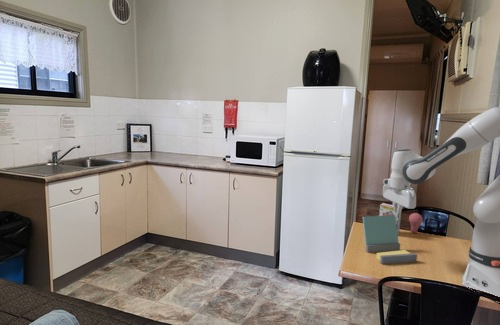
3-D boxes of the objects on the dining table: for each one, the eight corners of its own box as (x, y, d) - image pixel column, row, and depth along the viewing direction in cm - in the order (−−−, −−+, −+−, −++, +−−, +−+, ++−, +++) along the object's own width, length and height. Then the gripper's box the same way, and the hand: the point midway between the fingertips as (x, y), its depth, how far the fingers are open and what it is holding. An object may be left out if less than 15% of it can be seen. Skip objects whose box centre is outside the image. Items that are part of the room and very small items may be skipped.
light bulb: (422, 233, 189) (424, 213, 187) (418, 236, 184) (420, 216, 182) (410, 229, 194) (412, 210, 192) (405, 232, 189) (407, 213, 187)
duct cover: (395, 215, 168) (393, 215, 169) (363, 216, 165) (362, 216, 166) (398, 242, 166) (397, 242, 167) (366, 244, 162) (365, 244, 163)
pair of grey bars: (416, 261, 153) (417, 254, 152) (381, 264, 149) (382, 257, 149) (397, 249, 166) (398, 242, 166) (365, 251, 163) (366, 244, 162)
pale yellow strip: (409, 259, 156) (410, 253, 155) (381, 262, 152) (382, 256, 151) (404, 255, 160) (404, 249, 159) (376, 258, 155) (376, 253, 155)
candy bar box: (376, 231, 191) (379, 204, 188) (380, 228, 195) (382, 202, 192) (396, 236, 184) (399, 208, 181) (399, 233, 187) (402, 206, 185)
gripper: (421, 188, 140) (418, 219, 143) (392, 178, 160) (390, 205, 162) (408, 189, 139) (405, 219, 141) (381, 179, 159) (379, 206, 161)
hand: (397, 212), depth 152 cm, fingers closed
